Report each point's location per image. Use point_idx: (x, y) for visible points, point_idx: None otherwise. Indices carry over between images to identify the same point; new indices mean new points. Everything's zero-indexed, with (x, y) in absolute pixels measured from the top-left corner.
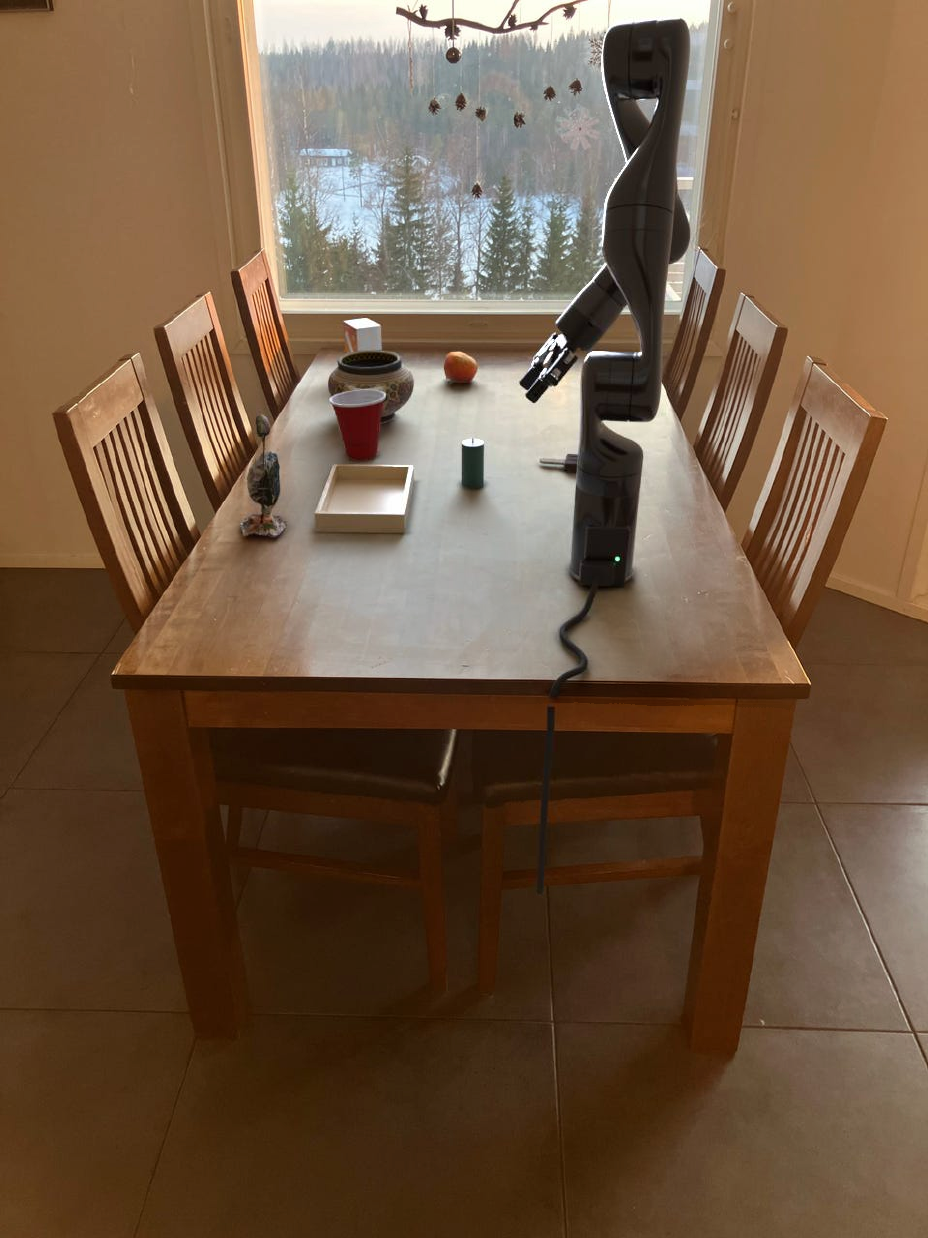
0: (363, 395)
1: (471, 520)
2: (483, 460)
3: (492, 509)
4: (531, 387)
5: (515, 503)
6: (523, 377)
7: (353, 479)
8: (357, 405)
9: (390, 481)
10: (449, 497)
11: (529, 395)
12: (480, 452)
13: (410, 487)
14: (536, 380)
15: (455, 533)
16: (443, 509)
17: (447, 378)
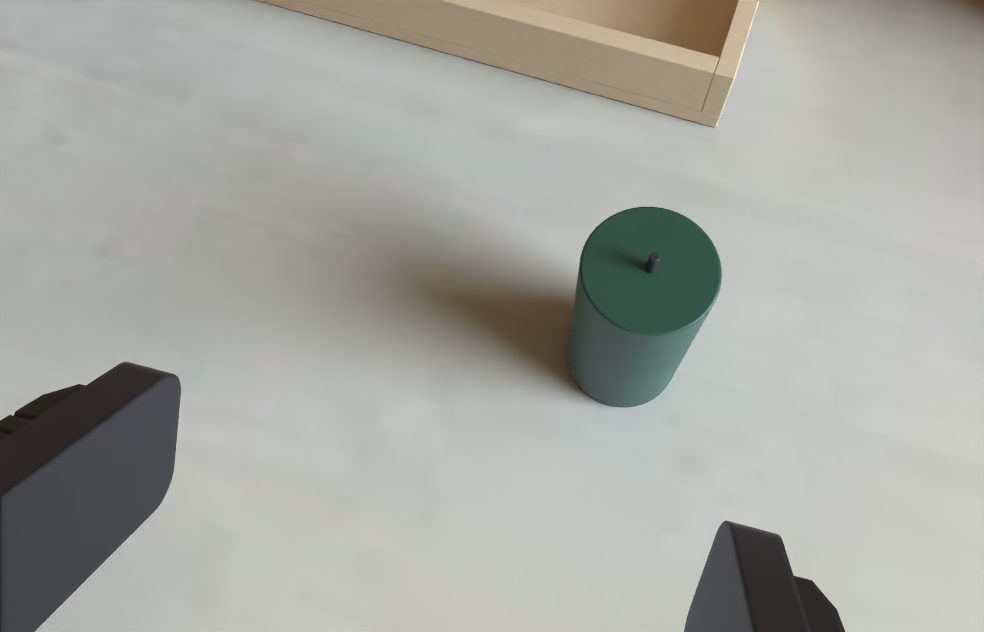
0: None
1: (249, 236)
2: (602, 357)
3: (317, 351)
4: (69, 407)
5: (339, 474)
6: (741, 566)
7: None
8: None
9: (705, 27)
10: (507, 220)
11: (74, 388)
12: (583, 312)
13: (530, 40)
14: (22, 467)
15: (166, 149)
16: (395, 166)
17: None
